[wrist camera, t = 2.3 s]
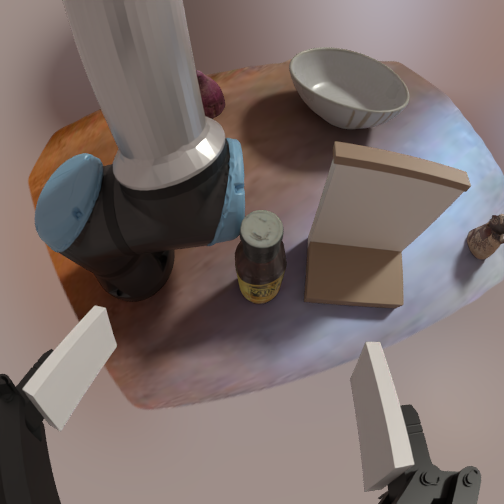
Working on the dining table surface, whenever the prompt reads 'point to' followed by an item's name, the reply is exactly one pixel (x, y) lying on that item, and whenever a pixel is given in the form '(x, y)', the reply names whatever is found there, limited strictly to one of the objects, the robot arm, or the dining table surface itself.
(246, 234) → the sauce bottle
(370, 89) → the decorative bowl
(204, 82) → the vegetable
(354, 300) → the upright board stand
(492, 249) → the figurine
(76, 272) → the dining table surface
